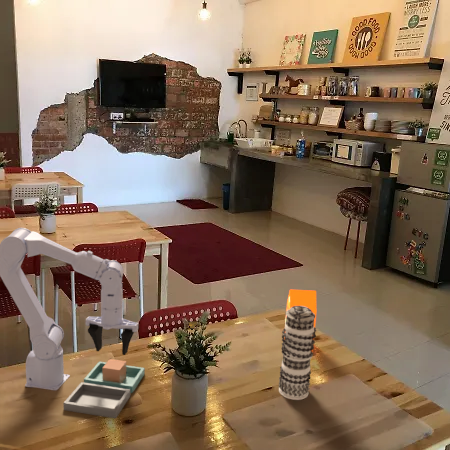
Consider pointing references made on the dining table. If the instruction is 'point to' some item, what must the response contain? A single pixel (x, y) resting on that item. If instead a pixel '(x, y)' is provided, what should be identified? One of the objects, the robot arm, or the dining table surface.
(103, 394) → the grey bin
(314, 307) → the orange juice
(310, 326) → the decorative candle
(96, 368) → the teal bin
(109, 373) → the terracotta block
